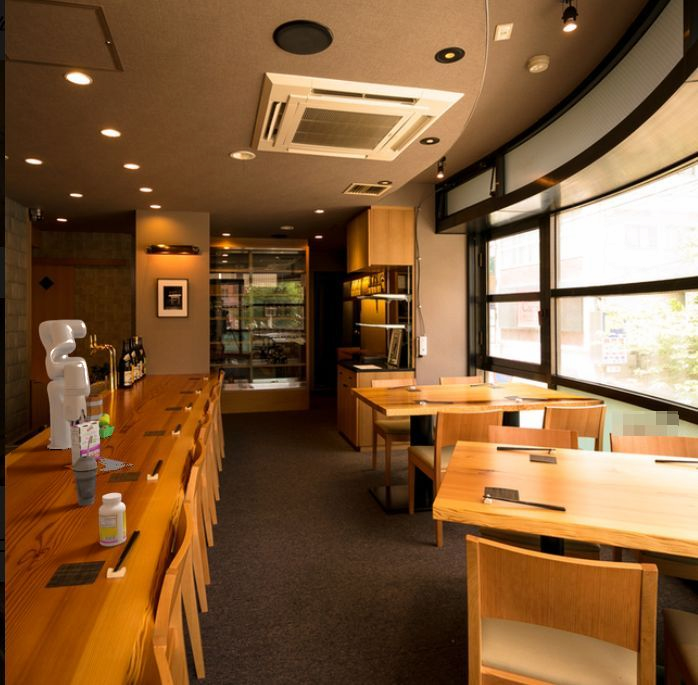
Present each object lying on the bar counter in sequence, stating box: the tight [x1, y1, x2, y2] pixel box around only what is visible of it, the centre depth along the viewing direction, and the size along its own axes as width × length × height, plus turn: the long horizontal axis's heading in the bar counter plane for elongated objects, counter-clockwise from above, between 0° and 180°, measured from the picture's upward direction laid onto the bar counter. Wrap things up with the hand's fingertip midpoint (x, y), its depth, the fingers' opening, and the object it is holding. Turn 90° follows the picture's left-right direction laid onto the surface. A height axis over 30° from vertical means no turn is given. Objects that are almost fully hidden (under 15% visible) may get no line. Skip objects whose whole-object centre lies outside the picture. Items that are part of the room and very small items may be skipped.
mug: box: [84, 394, 104, 423], centre depth 298 cm, size 20×14×15 cm
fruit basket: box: [98, 413, 115, 439], centre depth 261 cm, size 11×9×11 cm
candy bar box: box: [70, 421, 102, 466], centre depth 214 cm, size 11×5×16 cm, turn 164°
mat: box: [70, 457, 134, 471], centre depth 210 cm, size 24×16×1 cm, turn 60°
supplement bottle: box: [98, 492, 127, 547], centre depth 140 cm, size 7×7×13 cm
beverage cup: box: [72, 443, 98, 507], centre depth 168 cm, size 7×7×20 cm
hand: (75, 435), depth 217 cm, fingers closed
